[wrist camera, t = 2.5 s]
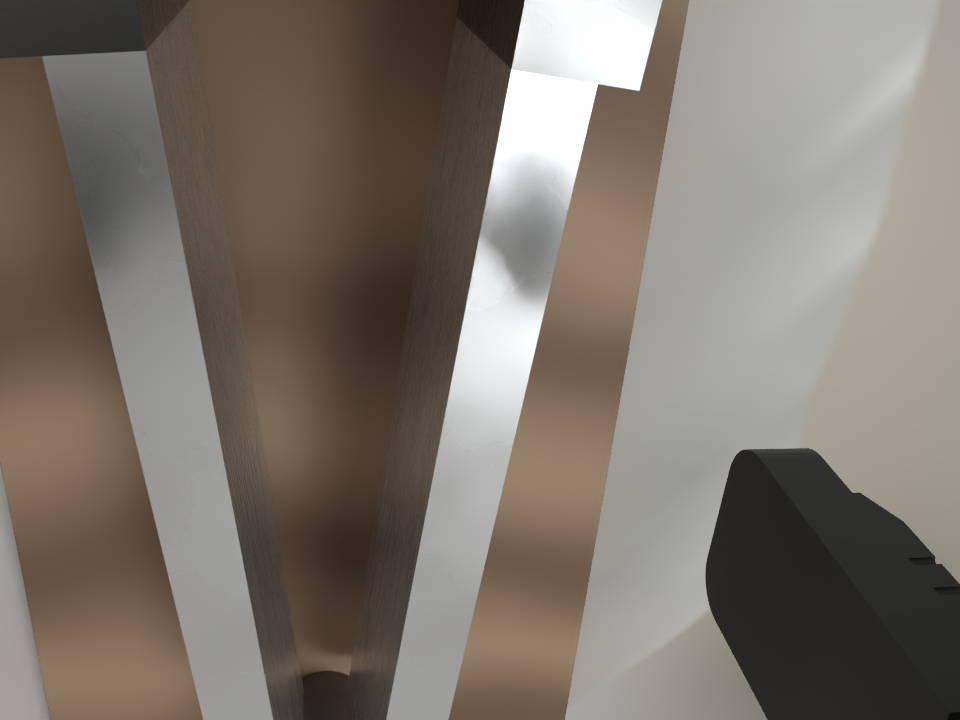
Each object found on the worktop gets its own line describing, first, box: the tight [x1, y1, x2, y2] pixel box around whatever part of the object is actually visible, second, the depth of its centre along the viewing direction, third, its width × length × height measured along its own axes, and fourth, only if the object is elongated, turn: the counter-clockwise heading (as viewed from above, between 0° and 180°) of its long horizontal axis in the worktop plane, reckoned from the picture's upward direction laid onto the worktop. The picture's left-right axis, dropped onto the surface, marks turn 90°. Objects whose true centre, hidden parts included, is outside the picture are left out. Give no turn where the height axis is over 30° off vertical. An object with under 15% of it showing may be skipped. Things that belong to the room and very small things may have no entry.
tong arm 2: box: [0, 0, 303, 720], centre depth 16 cm, size 20×2×5 cm, turn 1°
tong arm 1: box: [347, 0, 662, 720], centre depth 17 cm, size 20×2×5 cm, turn 169°
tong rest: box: [0, 0, 689, 720], centre depth 18 cm, size 30×14×8 cm, turn 175°
